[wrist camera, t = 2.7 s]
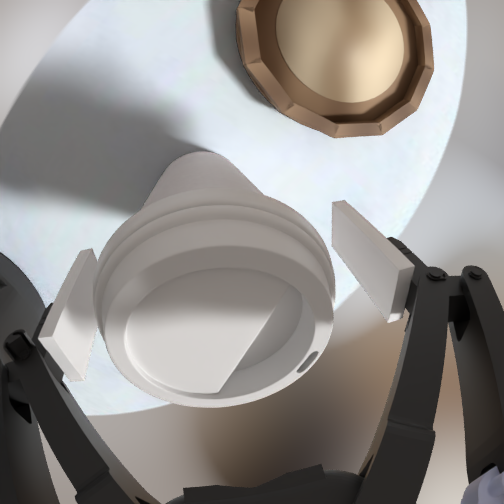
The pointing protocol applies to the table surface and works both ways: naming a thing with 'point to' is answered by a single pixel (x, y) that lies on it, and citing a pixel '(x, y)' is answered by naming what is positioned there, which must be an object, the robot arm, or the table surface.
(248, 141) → the table surface
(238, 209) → the coffee cup
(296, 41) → the polygonal wooden dish
